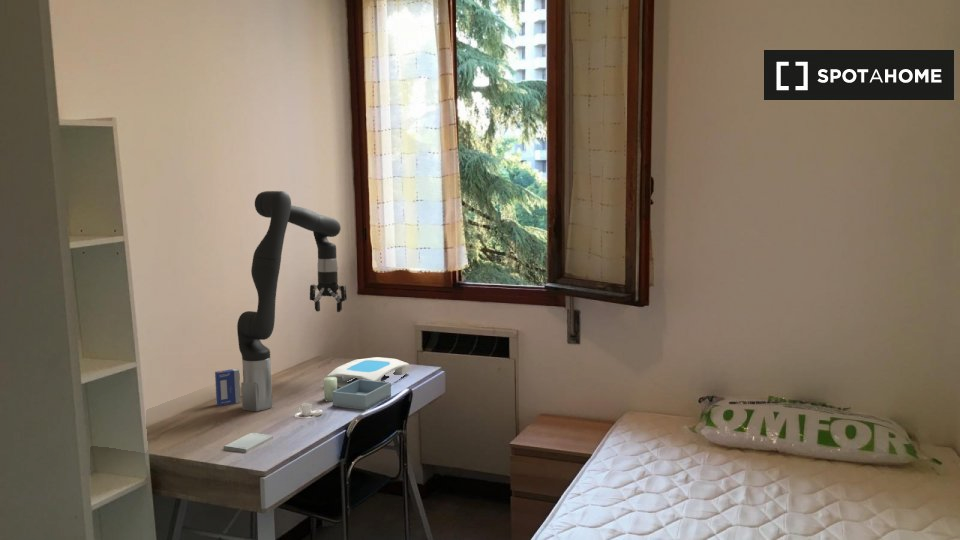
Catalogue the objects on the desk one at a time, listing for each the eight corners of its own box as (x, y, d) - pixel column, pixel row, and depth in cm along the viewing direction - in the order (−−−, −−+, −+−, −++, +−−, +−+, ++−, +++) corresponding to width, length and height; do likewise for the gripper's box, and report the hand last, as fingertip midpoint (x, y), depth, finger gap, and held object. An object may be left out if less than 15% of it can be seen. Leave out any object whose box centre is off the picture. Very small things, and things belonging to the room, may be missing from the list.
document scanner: (410, 374, 294) (409, 359, 294) (374, 393, 269) (374, 377, 268) (364, 370, 302) (364, 355, 302) (325, 388, 277) (325, 371, 276)
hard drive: (246, 449, 210) (273, 434, 222) (223, 445, 213) (250, 431, 225) (246, 454, 210) (273, 440, 222) (223, 451, 213) (250, 437, 225)
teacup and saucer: (326, 414, 245) (325, 403, 245) (309, 421, 238) (308, 409, 238) (306, 410, 250) (306, 399, 249) (289, 417, 243) (289, 405, 242)
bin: (365, 410, 249) (365, 395, 248) (332, 405, 254) (332, 391, 253) (391, 396, 264) (390, 382, 264) (359, 392, 269) (359, 379, 269)
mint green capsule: (332, 401, 259) (332, 380, 258) (321, 400, 261) (321, 379, 260) (340, 398, 263) (339, 377, 262) (329, 396, 265) (328, 376, 264)
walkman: (218, 406, 255) (216, 372, 253) (216, 404, 257) (214, 370, 256) (241, 402, 259) (239, 369, 258) (239, 400, 261) (237, 367, 260)
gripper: (306, 270, 282) (307, 312, 284) (341, 271, 279) (342, 313, 281) (314, 268, 289) (315, 309, 291) (348, 269, 287) (349, 310, 288)
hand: (328, 311), depth 286 cm, fingers open, 8 cm apart
